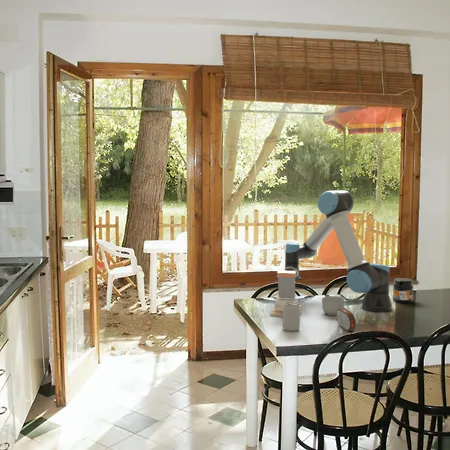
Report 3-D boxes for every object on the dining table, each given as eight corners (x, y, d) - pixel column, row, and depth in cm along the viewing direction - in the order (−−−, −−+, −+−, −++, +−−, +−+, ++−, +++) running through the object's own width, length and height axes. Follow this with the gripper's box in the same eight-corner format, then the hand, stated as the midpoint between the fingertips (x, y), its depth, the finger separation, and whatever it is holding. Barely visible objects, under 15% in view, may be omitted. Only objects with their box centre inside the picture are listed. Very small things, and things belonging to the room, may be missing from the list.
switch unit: (274, 307, 285) (274, 294, 284) (301, 308, 282) (302, 296, 282) (270, 315, 267) (270, 302, 267) (299, 317, 265) (299, 304, 264)
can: (281, 327, 246) (281, 301, 245) (297, 327, 247) (298, 301, 246) (284, 332, 239) (284, 305, 238) (301, 332, 240) (301, 304, 239)
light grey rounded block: (343, 317, 266) (344, 301, 265) (320, 316, 268) (321, 299, 267) (343, 310, 279) (343, 295, 279) (321, 309, 281) (322, 293, 281)
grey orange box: (278, 295, 276) (277, 270, 271) (295, 296, 274) (295, 271, 269) (277, 298, 274) (277, 272, 268) (295, 299, 272) (295, 273, 267)
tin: (356, 333, 239) (356, 314, 238) (349, 333, 238) (349, 314, 237) (341, 324, 254) (342, 306, 253) (335, 324, 253) (335, 306, 252)
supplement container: (403, 304, 295) (404, 282, 294) (388, 300, 304) (389, 278, 303) (417, 302, 300) (417, 280, 299) (401, 298, 309) (402, 277, 308)
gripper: (302, 281, 294) (298, 290, 271) (277, 280, 297) (271, 289, 274) (302, 267, 294) (298, 275, 271) (277, 266, 297) (272, 274, 274)
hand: (285, 282), depth 273 cm, fingers closed
